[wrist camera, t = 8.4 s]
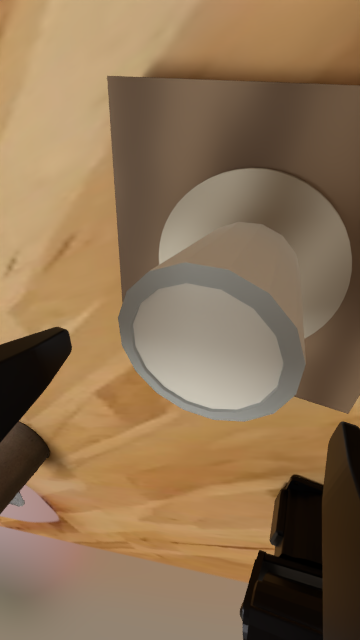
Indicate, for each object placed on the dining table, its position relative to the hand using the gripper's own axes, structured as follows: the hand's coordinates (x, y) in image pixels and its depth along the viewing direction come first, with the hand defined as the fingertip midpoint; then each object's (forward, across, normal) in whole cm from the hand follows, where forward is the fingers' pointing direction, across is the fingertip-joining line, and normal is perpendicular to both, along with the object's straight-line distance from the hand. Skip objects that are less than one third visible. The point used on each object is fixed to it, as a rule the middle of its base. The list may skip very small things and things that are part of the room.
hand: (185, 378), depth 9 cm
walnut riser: (+12, 0, 0) cm, 12 cm away
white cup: (+9, 0, 0) cm, 9 cm away
